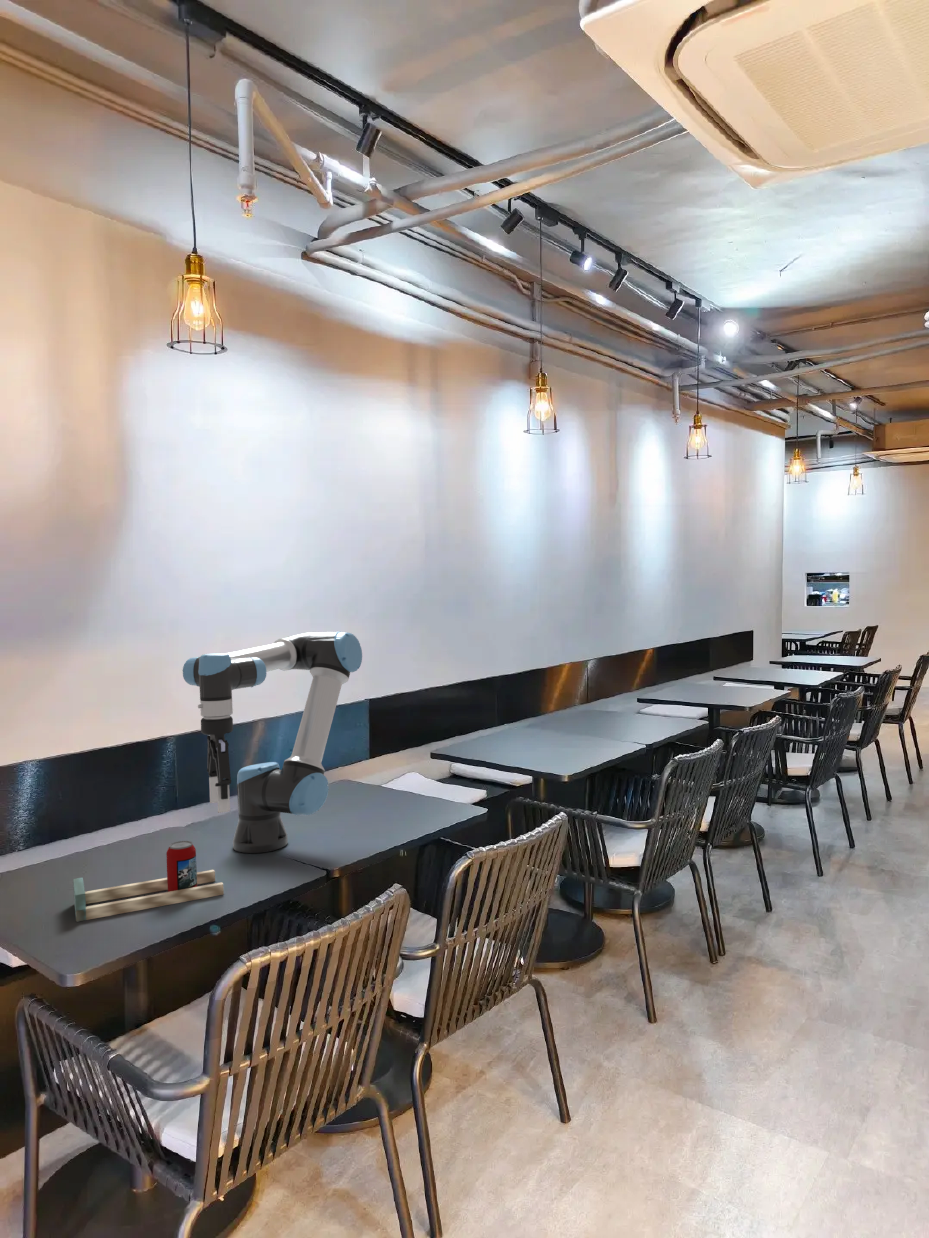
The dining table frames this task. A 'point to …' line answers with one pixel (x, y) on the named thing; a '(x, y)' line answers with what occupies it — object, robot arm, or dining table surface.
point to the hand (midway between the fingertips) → (219, 806)
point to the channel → (140, 902)
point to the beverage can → (181, 866)
